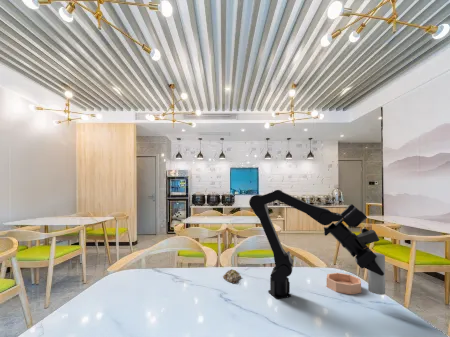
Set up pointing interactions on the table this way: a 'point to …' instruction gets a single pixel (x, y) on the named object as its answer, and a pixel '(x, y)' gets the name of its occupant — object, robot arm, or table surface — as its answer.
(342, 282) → the terracotta bowl
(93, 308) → the table surface
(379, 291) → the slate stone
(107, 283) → the table surface
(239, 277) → the mineral rock
